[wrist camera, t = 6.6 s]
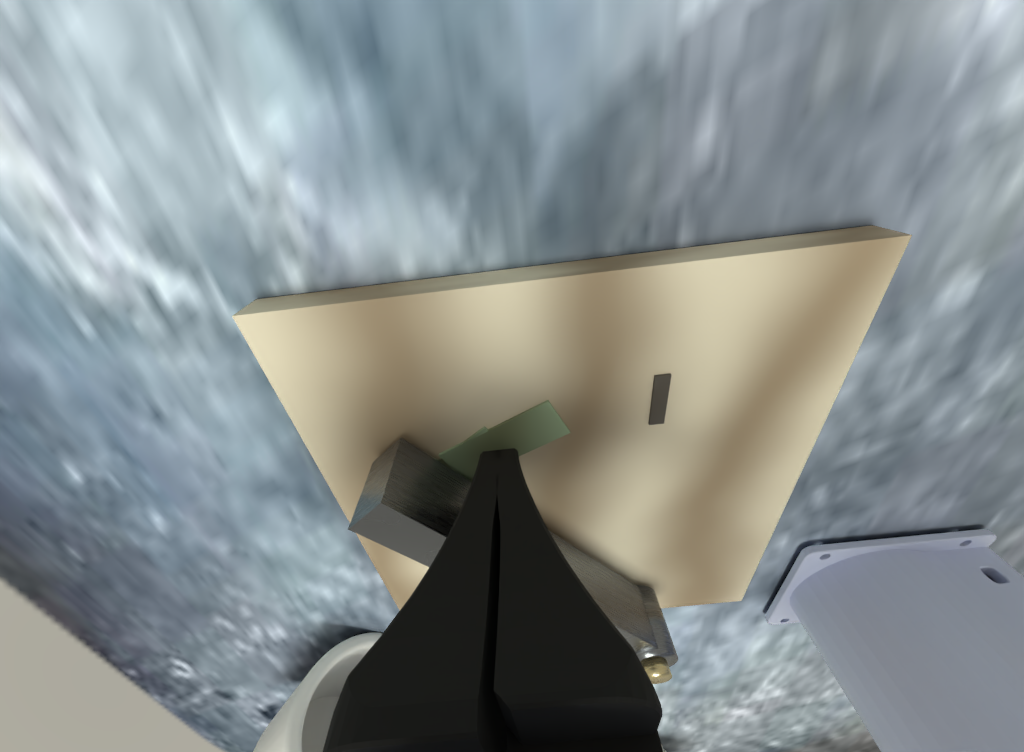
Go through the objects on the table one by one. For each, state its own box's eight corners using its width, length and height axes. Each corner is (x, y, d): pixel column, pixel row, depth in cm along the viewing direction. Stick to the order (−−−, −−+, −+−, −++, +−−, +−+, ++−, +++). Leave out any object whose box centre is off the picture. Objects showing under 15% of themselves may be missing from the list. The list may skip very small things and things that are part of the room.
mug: (281, 678, 27) (210, 861, 20) (323, 618, 22) (248, 829, 15) (435, 702, 30) (418, 863, 24) (497, 655, 26) (498, 838, 19)
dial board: (872, 225, 11) (915, 236, 9) (729, 578, 21) (742, 602, 20) (256, 299, 11) (229, 317, 10) (415, 608, 22) (411, 633, 20)
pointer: (407, 430, 12) (380, 520, 9) (663, 595, 19) (693, 676, 16) (368, 464, 13) (333, 556, 10) (627, 611, 20) (649, 691, 17)
